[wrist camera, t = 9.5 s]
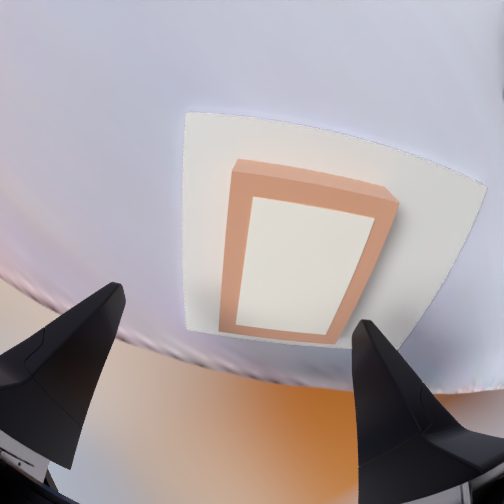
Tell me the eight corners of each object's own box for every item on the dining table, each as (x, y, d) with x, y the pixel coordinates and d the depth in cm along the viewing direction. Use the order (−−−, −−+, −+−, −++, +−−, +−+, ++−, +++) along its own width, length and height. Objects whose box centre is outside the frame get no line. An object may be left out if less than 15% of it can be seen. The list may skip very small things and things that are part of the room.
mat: (482, 183, 10) (487, 187, 9) (395, 344, 16) (397, 350, 16) (189, 111, 9) (185, 112, 9) (187, 323, 16) (186, 329, 16)
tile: (400, 203, 9) (231, 171, 9) (335, 345, 13) (218, 332, 13) (384, 186, 10) (237, 158, 10) (331, 321, 15) (223, 308, 15)
